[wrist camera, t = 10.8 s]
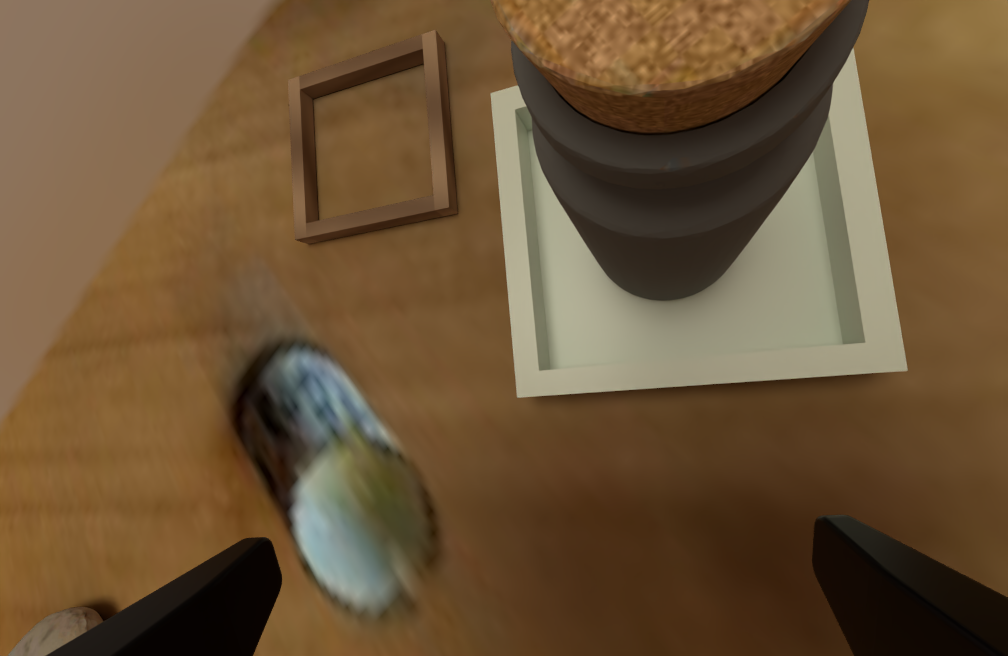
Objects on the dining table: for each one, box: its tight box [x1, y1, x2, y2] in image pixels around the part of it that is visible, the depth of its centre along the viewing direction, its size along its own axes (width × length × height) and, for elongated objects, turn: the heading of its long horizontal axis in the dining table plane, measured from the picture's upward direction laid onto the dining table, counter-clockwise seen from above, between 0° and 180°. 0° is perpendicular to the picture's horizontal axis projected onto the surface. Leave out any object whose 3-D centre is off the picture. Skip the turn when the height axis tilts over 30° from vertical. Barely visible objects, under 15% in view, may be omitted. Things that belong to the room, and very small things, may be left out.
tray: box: [491, 49, 908, 398], centre depth 19 cm, size 13×13×2 cm
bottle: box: [491, 0, 869, 301], centre depth 12 cm, size 6×6×15 cm
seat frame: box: [288, 30, 458, 244], centre depth 24 cm, size 9×9×1 cm
